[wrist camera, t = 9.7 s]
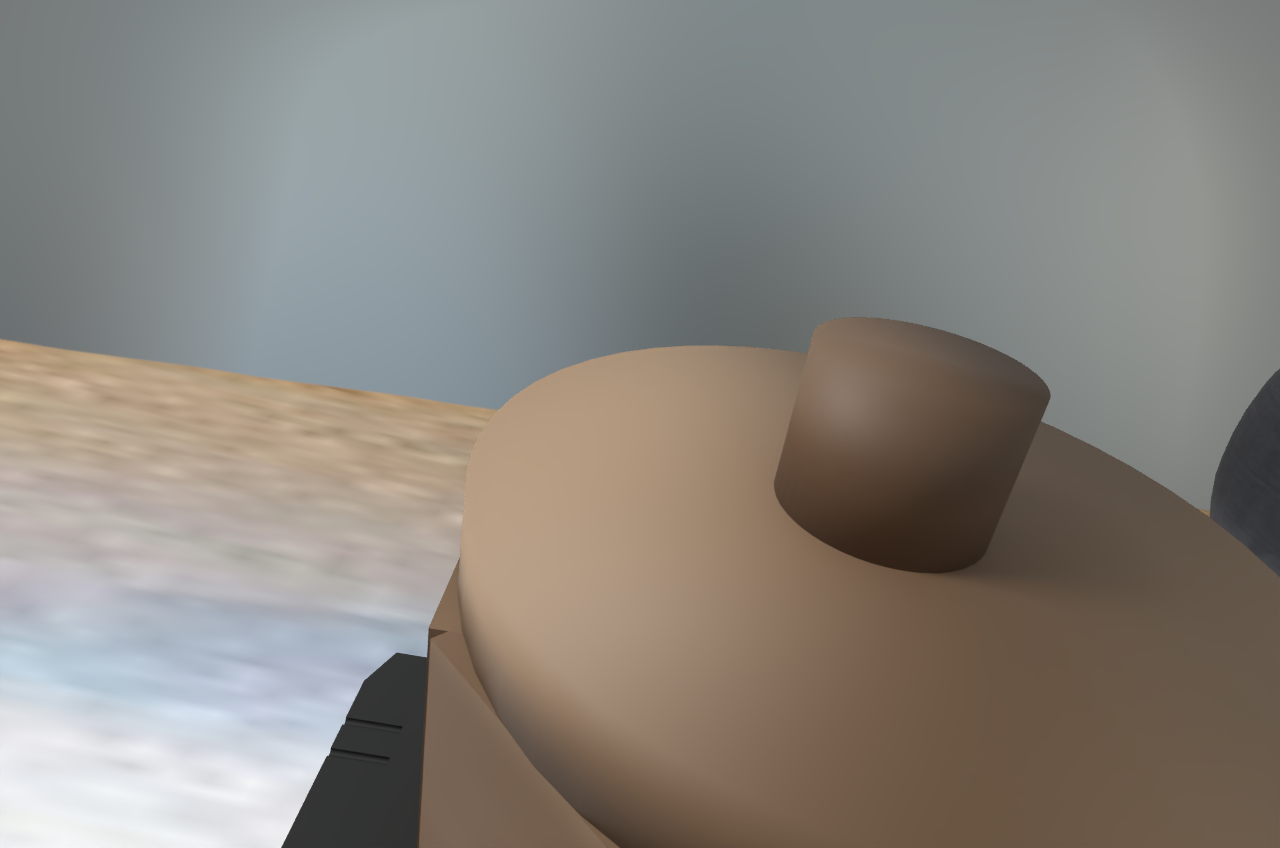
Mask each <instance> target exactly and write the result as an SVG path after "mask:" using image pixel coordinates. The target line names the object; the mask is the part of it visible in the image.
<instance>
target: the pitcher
mask: <svg viewBox="0 0 1280 848" xmlns="http://www.w3.org/2000/svg"><path fill="white" fill-rule="evenodd" d="M1210 518H1211V519H1212V520H1213V521H1214V522H1216V523H1217V524H1218V525H1220V526H1221V527H1222V528H1223V529H1225V530H1226V531H1227V532H1229V533H1230V534H1231V535H1232V536H1234V537H1235V538H1236V539H1237V540H1239V541H1240V542H1241V543H1243V544H1244V545H1245V546H1246V547H1247V548H1248V549H1249V550H1250V551H1251V552H1252V553H1254V554H1255V555H1256V556H1257V557H1258V558H1259V559H1260V560H1261V561H1262V562H1264V563H1265V564H1266V565H1267V566H1268V567H1269V568H1270V569H1271V570H1272V571H1273V572H1275V573H1276V574H1277V575H1278V576H1279V578H1280V369H1279V370H1278V371H1276V372H1275V373H1274V374H1273V376H1272V377H1271V378H1270V379H1269V380H1268V381H1267V382H1266V384H1265V385H1264V386H1263V388H1262V389H1261V390H1260V392H1259V393H1258V394H1257V396H1256V397H1255V399H1254V400H1253V401H1252V403H1251V404H1250V405H1249V407H1248V408H1247V410H1246V411H1245V413H1244V415H1243V416H1242V418H1241V420H1240V422H1239V423H1238V425H1237V427H1236V429H1235V430H1234V432H1233V434H1232V436H1231V439H1230V441H1229V443H1228V445H1227V447H1226V450H1225V452H1224V454H1223V456H1222V459H1221V462H1220V464H1219V467H1218V470H1217V472H1216V476H1215V481H1214V486H1213V492H1212V497H1211V508H1210Z"/></svg>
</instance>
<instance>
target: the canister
mask: <svg viewBox="0 0 1280 848" xmlns="http://www.w3.org/2000/svg"><path fill="white" fill-rule="evenodd" d="M1049 400H1050V391H1049V389H1048V387H1047V385H1046V384H1045V383H1044V381H1043V380H1042V379H1041V378H1040V377H1039V376H1038V375H1037V374H1036V373H1034V372H1033V371H1032V370H1030V369H1029V368H1028V367H1026V366H1025V365H1023V364H1022V363H1020V362H1018V361H1017V360H1015V359H1013V358H1011V357H1009V356H1008V355H1006V354H1003V353H1001V352H999V351H997V350H995V349H993V348H990V347H988V346H986V345H984V344H981V343H978V342H976V341H973V340H971V339H968V338H965V337H961V336H959V335H956V334H953V333H949V332H946V331H943V330H939V329H935V328H931V327H927V326H923V325H918V324H913V323H908V322H903V321H896V320H890V319H881V318H867V317H854V318H853V317H852V318H841V319H834V320H830V321H827V322H825V323H822V324H821V325H819V326H818V327H817V328H816V329H815V330H814V333H813V337H812V340H811V344H810V348H809V352H808V354H807V353H801V352H794V351H786V350H776V349H766V348H756V347H738V346H677V347H663V348H650V349H644V350H637V351H629V352H623V353H617V354H613V355H608V356H604V357H600V358H596V359H591V360H588V361H585V362H582V363H579V364H576V365H573V366H570V367H567V368H564V369H561V370H559V371H557V372H555V373H553V374H551V375H549V376H546V377H544V378H542V379H540V380H538V381H536V382H534V383H533V384H531V385H530V386H528V387H527V388H525V389H524V390H522V391H521V392H519V393H518V394H516V395H515V396H514V397H512V398H511V399H510V400H509V401H508V402H507V403H506V404H505V405H504V406H503V407H502V408H500V409H499V410H498V411H497V412H496V413H495V414H494V415H493V416H492V418H491V419H490V421H489V422H488V424H487V425H486V427H485V428H484V429H483V431H482V432H481V434H480V435H479V437H478V438H477V441H476V444H475V446H474V449H473V452H472V454H471V457H470V460H469V462H468V465H467V475H466V485H465V495H464V509H463V522H462V536H461V550H460V558H459V560H458V563H457V565H456V567H455V569H454V572H453V574H452V576H451V579H450V581H449V583H448V585H447V588H446V590H445V592H444V595H443V597H442V599H441V601H440V604H439V606H438V608H437V610H436V613H435V615H434V617H433V620H432V622H431V624H430V626H429V633H428V652H427V670H426V688H425V706H424V724H423V742H422V760H421V778H420V796H419V814H418V832H417V848H1280V578H1279V576H1278V575H1277V574H1276V573H1275V572H1273V571H1272V570H1271V569H1270V568H1269V567H1268V566H1267V565H1266V564H1265V563H1264V562H1262V561H1261V560H1260V559H1259V558H1258V557H1257V556H1256V555H1255V554H1254V553H1252V552H1251V551H1250V550H1249V549H1248V548H1247V547H1246V546H1245V545H1244V544H1243V543H1241V542H1240V541H1239V540H1237V539H1236V538H1235V537H1234V536H1232V535H1231V534H1230V533H1229V532H1227V531H1226V530H1225V529H1223V528H1222V527H1221V526H1220V525H1218V524H1217V523H1216V522H1214V521H1213V520H1212V519H1211V518H1209V517H1208V516H1207V515H1205V514H1204V513H1202V512H1201V511H1200V510H1198V509H1197V508H1195V507H1194V506H1192V505H1191V504H1189V503H1188V502H1186V501H1185V500H1183V499H1182V498H1180V497H1179V496H1177V495H1176V494H1175V493H1173V492H1172V491H1170V490H1169V489H1167V488H1165V487H1164V486H1162V485H1160V484H1159V483H1157V482H1156V481H1154V480H1152V479H1151V478H1149V477H1147V476H1145V475H1144V474H1142V473H1141V472H1139V471H1138V470H1136V469H1134V468H1133V467H1131V466H1129V465H1127V464H1125V463H1124V462H1122V461H1120V460H1118V459H1116V458H1114V457H1112V456H1110V455H1108V454H1107V453H1105V452H1103V451H1101V450H1099V449H1098V448H1096V447H1094V446H1092V445H1090V444H1087V443H1086V442H1084V441H1082V440H1080V439H1077V438H1075V437H1073V436H1071V435H1069V434H1067V433H1065V432H1063V431H1061V430H1059V429H1057V428H1055V427H1052V426H1050V425H1047V424H1045V423H1043V422H1041V419H1042V417H1043V414H1044V412H1045V410H1046V407H1047V405H1048V402H1049Z"/></svg>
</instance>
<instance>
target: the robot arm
mask: <svg viewBox="0 0 1280 848" xmlns="http://www.w3.org/2000/svg"><path fill="white" fill-rule="evenodd" d="M426 670H427V658H426V657H420V656H414V655H408V654H402V653H396V654H395V655H393V656H392V657H391V658H390V659H389V660H388V661H386V662H385V663H384V664H383V665H382V666H381V667H380V668H378V669H377V670H376V671H375V672H374V673H373V674H371V675H370V676H369V677H368V678H367V679H366V680H365V681H364V682H363V684H362V686H361V688H360V690H359V692H358V694H357V696H356V698H355V700H354V702H353V704H352V706H351V708H350V710H349V712H348V714H347V716H346V721H345V724H344V725H342V726H341V728H340V731H339V733H338V735H337V737H336V739H335V741H334V743H333V745H332V747H331V751H330V754H329V756H327V757H326V759H325V761H324V763H323V765H322V767H321V769H320V771H319V773H318V775H317V777H316V779H315V781H314V783H313V785H312V787H311V789H310V791H309V793H308V795H307V797H306V799H305V801H304V803H303V805H302V807H301V809H300V811H299V813H298V815H297V817H296V819H295V821H294V823H293V825H292V827H291V829H290V831H289V833H288V835H287V837H286V839H285V841H284V843H283V845H282V847H281V848H417V832H418V814H419V796H420V778H421V760H422V742H423V724H424V706H425V688H426Z"/></svg>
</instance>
